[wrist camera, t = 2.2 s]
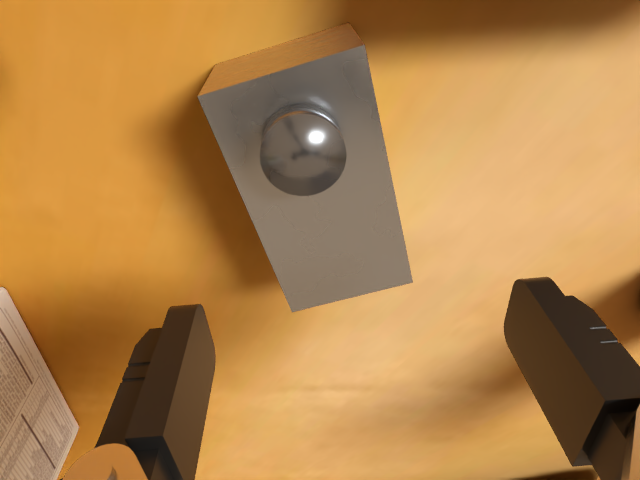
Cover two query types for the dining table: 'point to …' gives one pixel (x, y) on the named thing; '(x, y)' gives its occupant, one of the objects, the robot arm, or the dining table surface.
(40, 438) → the supplement box
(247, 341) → the dining table surface
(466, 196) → the dining table surface
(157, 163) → the dining table surface
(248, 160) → the housing
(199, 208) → the dining table surface
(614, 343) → the robot arm
